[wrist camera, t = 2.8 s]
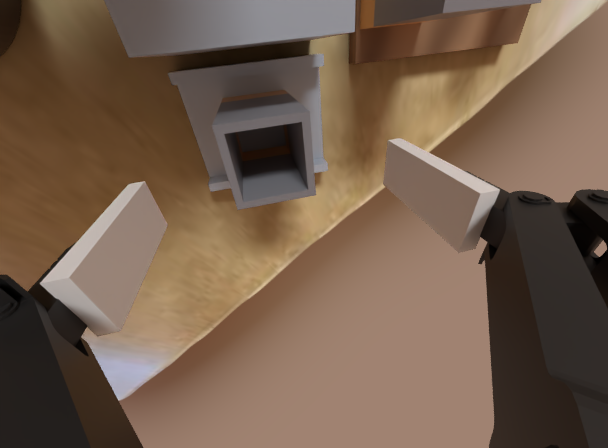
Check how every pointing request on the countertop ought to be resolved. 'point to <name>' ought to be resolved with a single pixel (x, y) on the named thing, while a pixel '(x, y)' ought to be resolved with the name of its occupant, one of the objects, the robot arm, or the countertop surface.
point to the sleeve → (271, 161)
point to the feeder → (243, 76)
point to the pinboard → (436, 35)
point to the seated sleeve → (426, 10)
